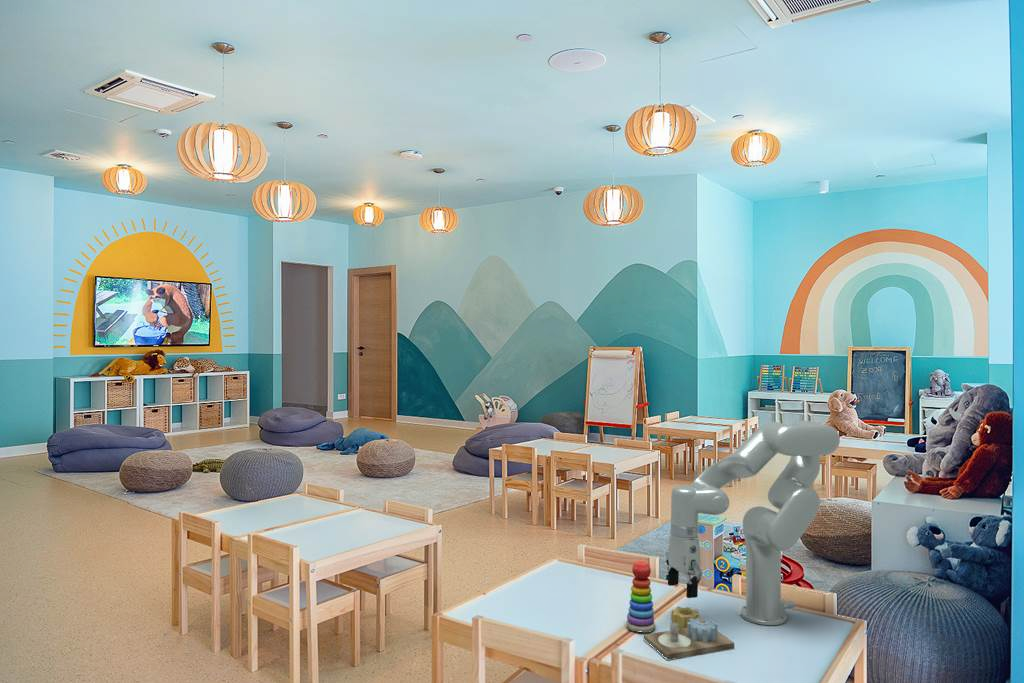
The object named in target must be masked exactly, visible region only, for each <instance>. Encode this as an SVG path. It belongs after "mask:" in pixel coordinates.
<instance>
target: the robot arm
mask: <svg viewBox="0 0 1024 683" xmlns="http://www.w3.org/2000/svg"><path fill="white" fill-rule="evenodd" d="M840 442H841V439H840V434H839V433H838V431H837V430H836V429H835V428H834V427H833V426H830V425H829V424H823V423H819V422H816V421H815V422H814V421H811V420H805V419H803V420H796V421H794V422H793V423H792V424H791V425H790V424H787V423H783V422H782V423H781V422H778V421H766V422H764V423H762V424H761V425H760V426H759V427H757V429H756V430H755V431H754V432H752V434H751V435H750V436H749V437H748V438H747V439H746V440H745V441H744V442H743V443H742V444H741V445H740V446H738V448H737V449H736V450H735V451H734V452H733V453H731V454H730V455H727V456H725V457H723V458H722V459H720V460H718V461H716V462H715V463H713V464H710V466H708V467H706V468H705V469H704V470H703V471H702V472H701V473H700V474H699V475H698V476H697V477H696V478H695V479H694V480H693V481H692V483H691V484H690V485H676V486H674V487H673V488H672V490H671V499H670V500H671V501H670V509H671V510H670V533H669V534H670V535H669V542H668V551H666V552H665V559H666V560H665V563H666V565H667V567H666V569H667V585H668V586H678V585H679V581H680V580H679V579H680V578H679V576H680V573H681V574H683V575H685V576H686V579H687V583H686V593H685V594H686V598H687V599H692V598H693V599H694V598H695V599H696V598H698V595H699V594H698V590H699V588H698V587H699V584H700V582H701V579H702V575H703V571H702V569H701V548H700V546H701V545H700V541H699V532H698V531H699V514H702V515H703V514H704V515H709V516H710V515H711V516H718V515H721V514H725V513H726V511H727V510H729V507H730V498H729V496H728V495H727V493H726V492H725V491H724V490H722V489H721V488H723V487H724V486H725V485H727V484H729V483H731V482H733V481H735V480H736V481H737V480H742V479H748V478H752V477H754V476H756V475H758V473H760V471H761V470H762V469H764V467H765V466H766V465H767V464H768V463H769V462H770V461H771V460H772V459H773V458H775V456H776V455H777V454H780V455H782V456H790V459H789V461H788V463H787V464H786V466H785V468H784V469H783V470H782V471H781V473H780V474H779V475H778V477H777V478H776V480H774V481H773V483H772V485H771V486H770V487H769V490H768V492H767V499H768V502H769V503H770V504H771V506H773V507H774V508H775V509H777V510H778V512H776V511H775V510H772V509H771V508H768V507H765V506H759V505H758V506H754V507H751V508H748V510H747V511H746V512H745V514H744V516H743V519H742V531H743V537H744V544H745V605H744V606H742V607H741V608H740V615H741V617H742V618H743V619H744V620H746V621H748V622H751V623H752V624H753V623H754V624H757V625H761V626H762V625H764V626H779V625H783V624H784V623H785V622H787V618H788V616H787V613H786V612H785V611H786V610H787V609H793V608H794V609H795V607H796V604H795V602H794V601H793V600H789V601H785V599H783V598H782V584H781V583H782V569H781V568H782V556H781V552H783V551H784V552H785V551H787V550H789V549H791V548H793V546H795V545H796V544H797V542H798V541H799V540H800V538H802V536H803V534H804V533H805V532H806V530H807V529H808V528H809V526H810V525H811V524H812V522H813V521H814V519H815V518H816V516H817V515H818V513H819V510H820V505H821V499H820V496H819V494H818V492H817V491H816V489H815V488H813V487H812V485H814V483H815V481H816V479H817V478H818V476H819V474H820V470H821V457H820V456H829V455H831V454H833V453H834V452H835V451H836V450H838V448H839V446H840ZM691 576H693V577H691Z"/></svg>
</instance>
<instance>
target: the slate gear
mask: <svg viewBox="0 0 1024 683" xmlns="http://www.w3.org/2000/svg"><path fill="white" fill-rule="evenodd" d="M699 618H702V617H700V616H699V617H697V619H692V618H691V619H689V622H687V635H688V637H691V638H692V640H694V641H701V642H703V643H707V642H709V641H713V642H714V641H716V638H717V631H718V623H717V622H713V620H712V619H710V618H705V619H706V623H699V622H698V619H699Z"/></svg>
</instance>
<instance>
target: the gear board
mask: <svg viewBox="0 0 1024 683" xmlns="http://www.w3.org/2000/svg"><path fill="white" fill-rule="evenodd" d="M706 619H707V618H705V617H701V618H699V619H698V622H699V623H706ZM669 626H670V630H663V631H660V632H659V631H658V632H651V633H647V634H646V633H645V634H643V640H644V639H645V640H646V641H647V642H648V643H649V644H651V645H652V646H653V647H654V648H655V649H656V650H658V651H659V652H660V653H661V654H663V656H664V657H666V658H667V659H673V658H678V659H684V658H688V657H694V656H701V655H705V654H711V653H712V654H713V653H716V652H722V651H728V650H733V649H735V641H732V639H730V638H728V637H727V636H725V635H724V634H722V633H721V632H719V631H718V630H717V638H716V641H714V642H713V641H709V642H707V643H703V642H701V641H694V640H692V638H691V637H688V635H687V628H682V629H680V628H678V624H677V623H672V622H670V625H669ZM649 644H648V645H649ZM664 657H663V658H664ZM673 660H674V659H673Z"/></svg>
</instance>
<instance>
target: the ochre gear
mask: <svg viewBox="0 0 1024 683" xmlns="http://www.w3.org/2000/svg"><path fill="white" fill-rule="evenodd" d="M697 617H700V613H699V611H698V610H697V609H693V608H691V607H689V606H685V607H681V606H677V607H675V609H674V608H672V609H671V618H670V619H671V623H677V624H678V629H682V628H687V622H689V619H691V618H692V619H697Z"/></svg>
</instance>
